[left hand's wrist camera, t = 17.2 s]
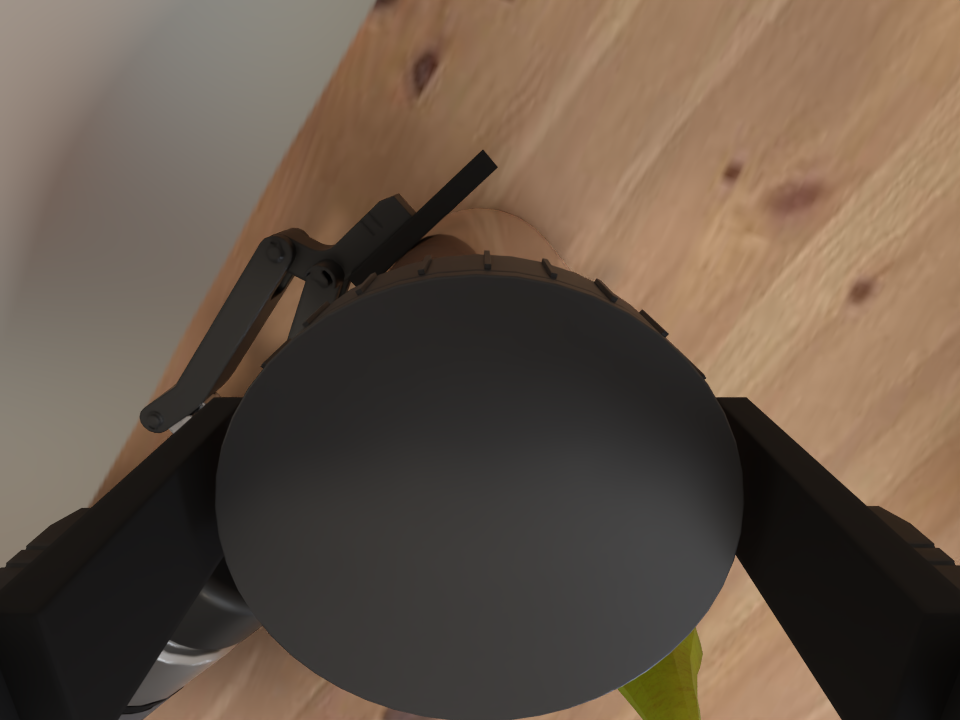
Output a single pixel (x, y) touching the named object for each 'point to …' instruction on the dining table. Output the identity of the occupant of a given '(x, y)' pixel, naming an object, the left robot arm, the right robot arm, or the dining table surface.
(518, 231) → the jar
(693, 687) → the fruit
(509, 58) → the dining table surface
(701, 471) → the lid
